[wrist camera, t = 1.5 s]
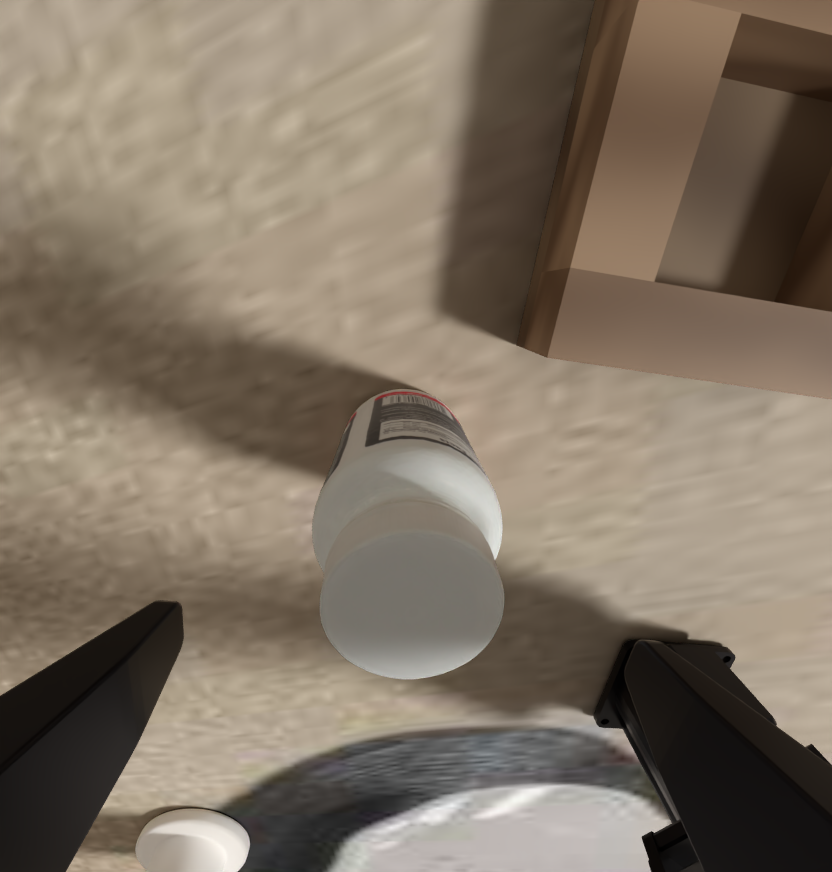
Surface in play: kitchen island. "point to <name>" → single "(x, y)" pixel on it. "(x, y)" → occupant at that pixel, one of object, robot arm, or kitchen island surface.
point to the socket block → (695, 197)
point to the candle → (192, 842)
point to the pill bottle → (408, 541)
